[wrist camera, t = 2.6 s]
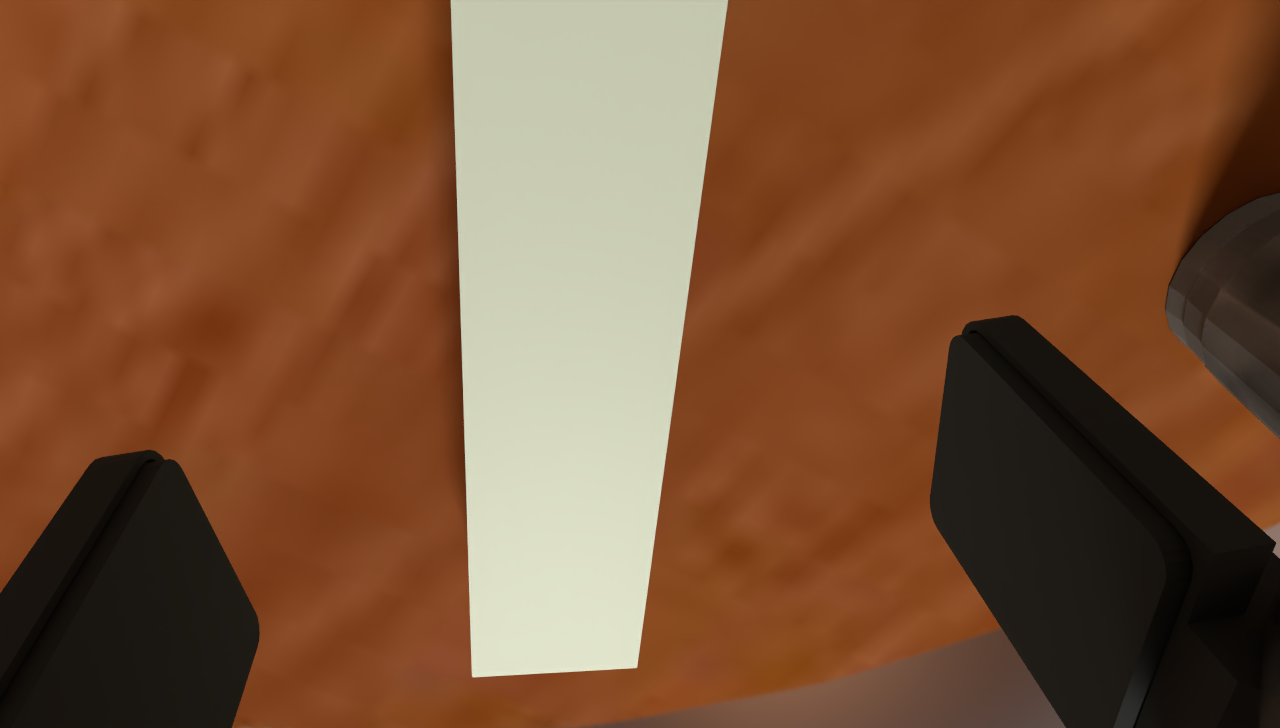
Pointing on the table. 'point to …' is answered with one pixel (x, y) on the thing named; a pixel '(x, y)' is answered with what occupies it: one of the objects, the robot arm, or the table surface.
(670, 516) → the table surface
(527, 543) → the batten
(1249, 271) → the beverage cup
